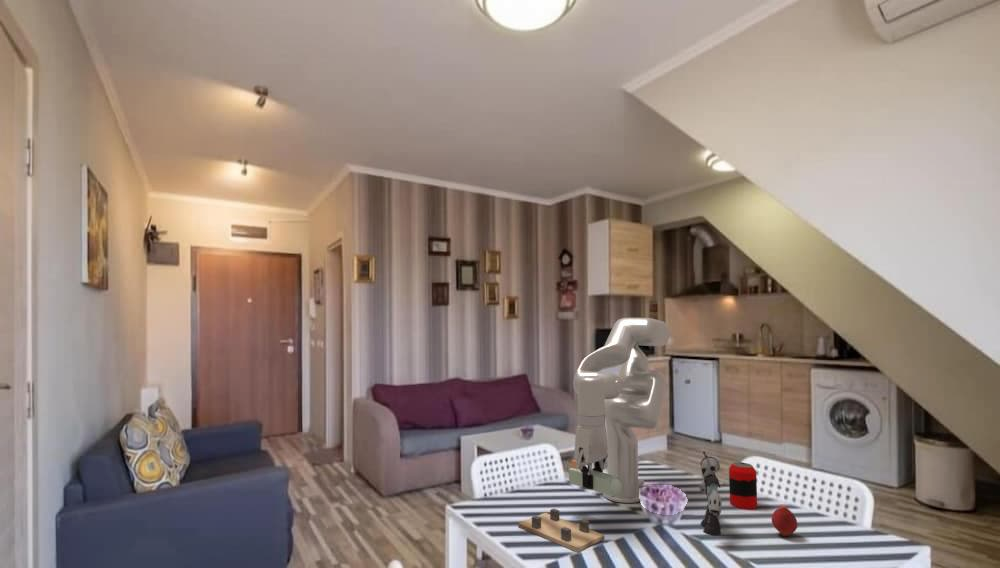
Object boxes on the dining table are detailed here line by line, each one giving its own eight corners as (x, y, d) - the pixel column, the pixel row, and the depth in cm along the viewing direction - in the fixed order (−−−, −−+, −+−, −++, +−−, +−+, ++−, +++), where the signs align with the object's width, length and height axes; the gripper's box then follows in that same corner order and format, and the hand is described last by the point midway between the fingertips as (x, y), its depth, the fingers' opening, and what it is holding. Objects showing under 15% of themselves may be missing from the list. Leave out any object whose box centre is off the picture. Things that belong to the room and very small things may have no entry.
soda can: (758, 503, 154) (757, 463, 155) (755, 511, 148) (754, 470, 148) (731, 498, 158) (730, 460, 159) (728, 506, 152) (727, 465, 152)
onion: (794, 533, 133) (793, 502, 133) (800, 542, 127) (799, 509, 128) (770, 530, 135) (769, 499, 135) (774, 538, 129) (773, 506, 130)
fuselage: (576, 479, 147) (576, 458, 148) (624, 493, 136) (624, 470, 136) (568, 482, 145) (567, 461, 145) (616, 497, 133) (615, 474, 133)
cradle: (545, 516, 143) (545, 503, 143) (604, 538, 128) (604, 524, 128) (518, 526, 135) (518, 513, 135) (577, 552, 121) (577, 537, 121)
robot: (728, 546, 125) (726, 463, 126) (707, 543, 126) (705, 462, 127) (714, 516, 144) (712, 445, 145) (696, 514, 145) (695, 444, 146)
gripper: (597, 413, 150) (599, 475, 149) (562, 423, 139) (563, 490, 138) (619, 417, 145) (620, 481, 144) (584, 427, 133) (585, 497, 132)
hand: (592, 485), depth 141 cm, fingers closed on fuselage, 4 cm apart
